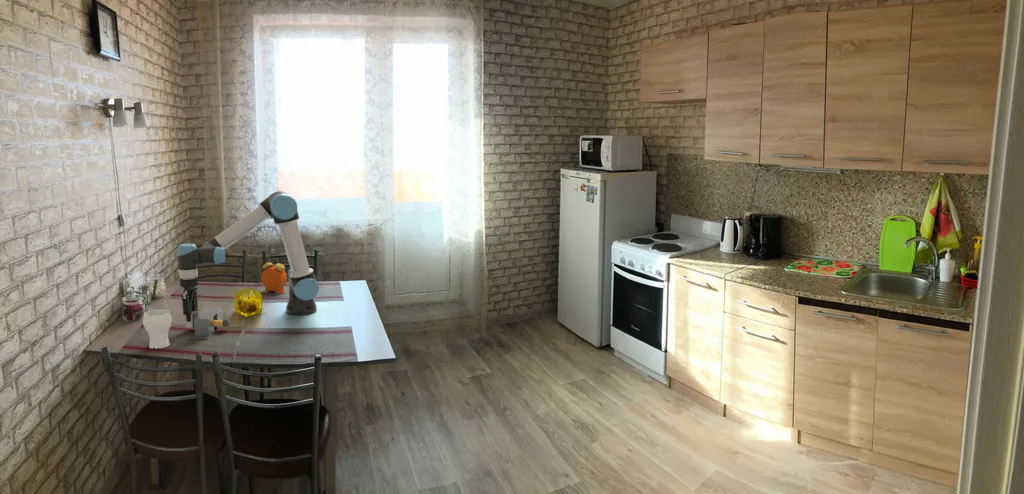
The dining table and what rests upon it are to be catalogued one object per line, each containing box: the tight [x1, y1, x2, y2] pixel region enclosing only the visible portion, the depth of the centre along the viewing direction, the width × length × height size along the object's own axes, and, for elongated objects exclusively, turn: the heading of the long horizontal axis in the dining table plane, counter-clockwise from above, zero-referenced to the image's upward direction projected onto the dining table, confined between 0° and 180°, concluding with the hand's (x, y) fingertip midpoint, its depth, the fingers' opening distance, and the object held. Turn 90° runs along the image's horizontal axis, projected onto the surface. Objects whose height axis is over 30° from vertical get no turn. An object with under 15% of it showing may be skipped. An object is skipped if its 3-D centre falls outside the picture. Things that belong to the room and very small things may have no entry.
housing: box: [191, 306, 224, 340], centre depth 285 cm, size 7×25×9 cm, turn 8°
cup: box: [142, 308, 173, 350], centre depth 263 cm, size 11×11×15 cm
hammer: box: [184, 310, 231, 329], centre depth 285 cm, size 18×4×7 cm, turn 98°
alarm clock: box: [260, 257, 288, 295], centre depth 352 cm, size 13×6×20 cm, turn 77°
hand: (191, 326), depth 284 cm, fingers closed on hammer, 4 cm apart
